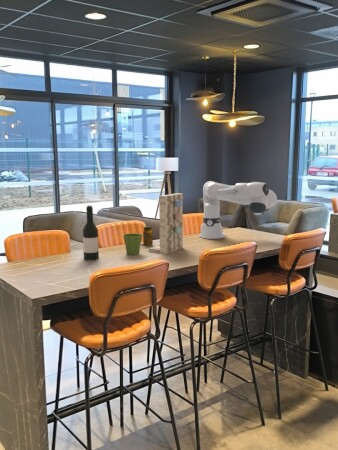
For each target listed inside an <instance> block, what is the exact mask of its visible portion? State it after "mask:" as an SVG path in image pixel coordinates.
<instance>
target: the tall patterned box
mask: <svg viewBox="0 0 338 450" xmlns="http://www.w3.org/2000/svg"><path fill="white" fill-rule="evenodd" d="M183 196H184V193H179V192H177V193H170V194H164V195H159V196H158V197H159V201H158V202H159V203H158V205H159V206H158V208H159V244H158V245H154V246H151V247H149V248H148V253H157V254H164V255H167V254H169V253H172V252H175V251H177V250H180V249H183V248H184V247H183V245H184V244H183V243H184V242H183V241H184V240H183V238H184V237H183V236H184V227H183V226H184V225H183V223H184V221H183V220H184V219H183V217H184V216H183V215H184V214H183V213H184V211H183V209H184V208H183V207H184V205H183V203H184V202H183V199H184V197H183ZM176 200H181V202H182V204H181V207H176V206H175V205H173V202H175V201H176ZM176 213H181V215H182V218H181V220H180V221H178V220H175V218H173V215H175V214H176ZM177 226H179V227H181V228H182V231H181V233H180V234H176V233H175V231H173V228H176V227H177Z"/></svg>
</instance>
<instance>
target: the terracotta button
mask: <svg viewBox="0 0 338 450" xmlns="http://www.w3.org/2000/svg"><path fill="white" fill-rule="evenodd" d="M173 218H175V220H178V221H180V220H181V218H182V215H181V213H176V214H175V215H173Z"/></svg>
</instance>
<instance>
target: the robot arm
mask: <svg viewBox="0 0 338 450" xmlns="http://www.w3.org/2000/svg"><path fill="white" fill-rule="evenodd" d="M202 187H203V188H202V194H203V195H202V196H203V197H202V199H203V217H202V222H203V223H202V224H201V225H200V234H198V237H199V238H202V239H207V240H208V239H209V240H217V239H225V238H226V233H225V232H224V230H223V226H222V224H221V214H220V212H221V208H220V207H221V205H220V201H225V202H229V203H230V202H231V203H235V204H239V205H247V208H248V210H249V212H250V213H251V214H253V215H255V216H260V215H264V214H265V212H269V210H270V208H271V207H273V206H275V205H276V204H277V202H278V196H277V194H276V193H275V192H274V191H273V190H271V188H270V186H269V185H268V183H266V182H262V181H252V182H238V183H237V182H236V183H235V185H230V184H225V183H220V182H216V181H213V180H209V181H206V182H205V183H204V185H203V186H202Z"/></svg>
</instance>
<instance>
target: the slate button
mask: <svg viewBox="0 0 338 450" xmlns="http://www.w3.org/2000/svg"><path fill="white" fill-rule="evenodd" d="M181 204H182V202H181V200H176V201H175V202H173V205H175V206H176V207H181Z"/></svg>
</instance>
